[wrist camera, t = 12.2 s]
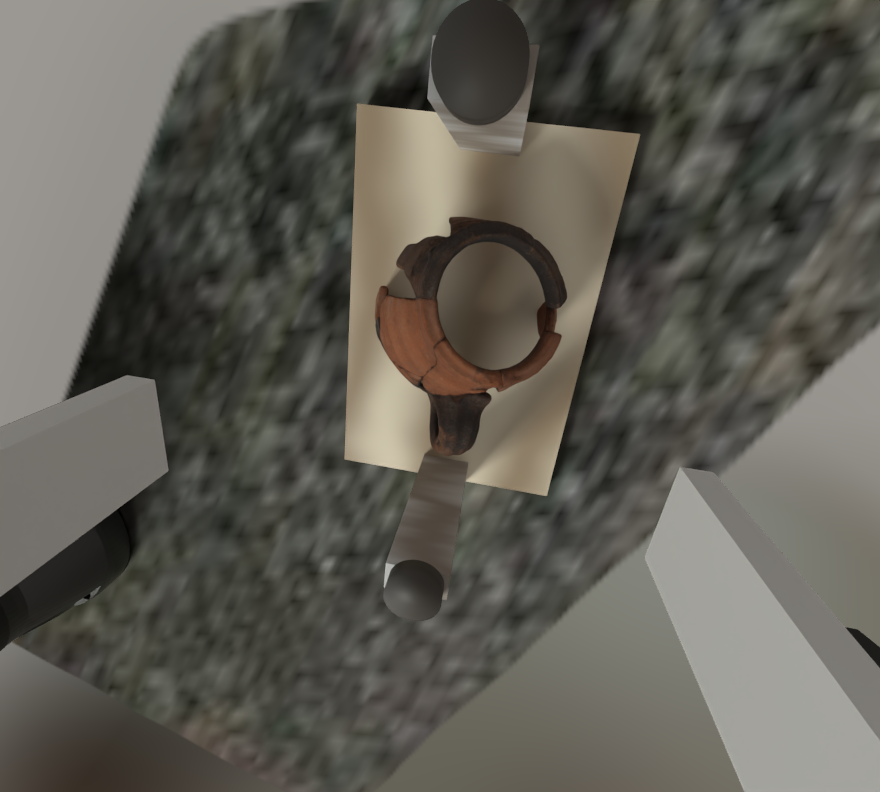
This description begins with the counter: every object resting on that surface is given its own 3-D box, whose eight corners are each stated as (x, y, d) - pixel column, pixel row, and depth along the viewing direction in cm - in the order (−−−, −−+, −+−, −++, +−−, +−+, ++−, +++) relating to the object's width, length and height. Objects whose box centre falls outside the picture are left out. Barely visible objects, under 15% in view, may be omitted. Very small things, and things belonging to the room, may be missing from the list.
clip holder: (350, 457, 31) (262, 589, 20) (364, 97, 23) (226, -24, 11) (543, 492, 30) (565, 653, 19) (636, 125, 21) (779, 22, 10)
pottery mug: (361, 240, 25) (391, 190, 17) (509, 247, 28) (593, 209, 20) (370, 445, 26) (401, 486, 18) (510, 431, 29) (588, 462, 21)
